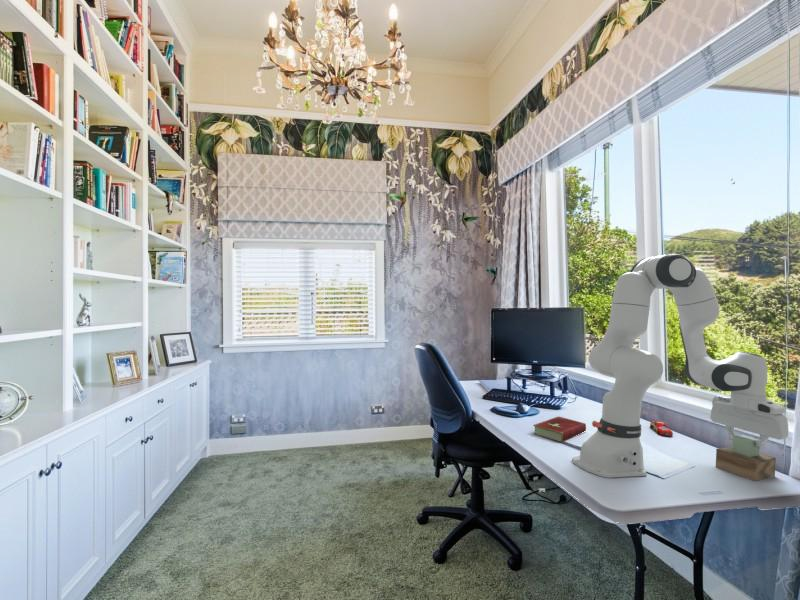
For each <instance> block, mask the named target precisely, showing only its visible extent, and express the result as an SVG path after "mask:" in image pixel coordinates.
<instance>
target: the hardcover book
mask: <svg viewBox="0 0 800 600" xmlns="http://www.w3.org/2000/svg"><path fill="white" fill-rule="evenodd" d="M533 427H534V434H535V435H538V436H540V437H545V438H547V439H551V440H553V441H558V442H561V443H563V442H566V441H567V440H570V439H572V438H574V436H575V437H577V436H579V435H581V434H580V433H582V432H584V431H586V430H587V423H586V422H581V421H577V420H574V419H571V418H566V417H563V416H558V415H557V416H555V417H553V418H550V419H547V420H544V421H541V422H538V423H535V424H533ZM586 432H587V431H586ZM584 433H585V432H584ZM578 434H579V435H578ZM582 434H583V433H582ZM576 435H577V436H576Z"/></svg>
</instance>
